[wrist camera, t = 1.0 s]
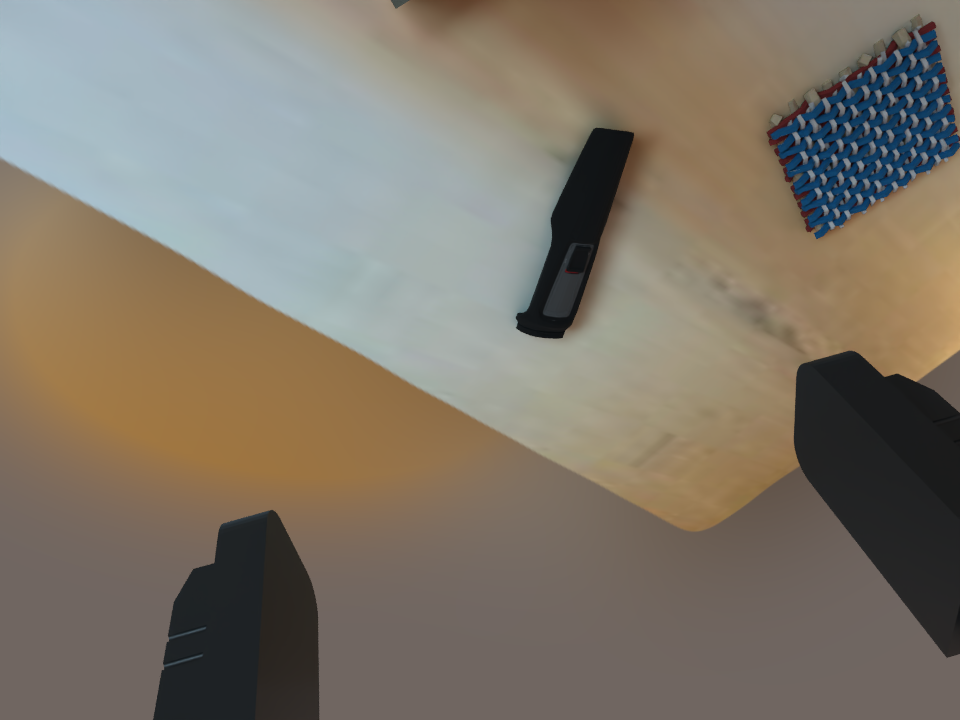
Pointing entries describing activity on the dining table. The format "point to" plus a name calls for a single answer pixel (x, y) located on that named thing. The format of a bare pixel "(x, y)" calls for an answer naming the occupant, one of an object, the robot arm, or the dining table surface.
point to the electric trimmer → (576, 233)
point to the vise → (398, 2)
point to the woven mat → (868, 130)
